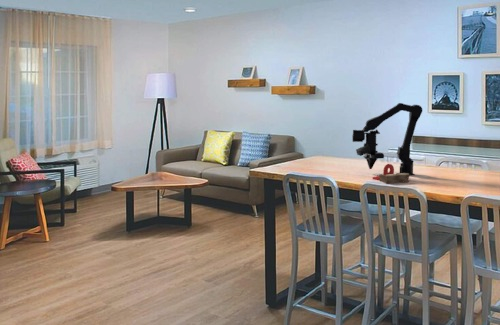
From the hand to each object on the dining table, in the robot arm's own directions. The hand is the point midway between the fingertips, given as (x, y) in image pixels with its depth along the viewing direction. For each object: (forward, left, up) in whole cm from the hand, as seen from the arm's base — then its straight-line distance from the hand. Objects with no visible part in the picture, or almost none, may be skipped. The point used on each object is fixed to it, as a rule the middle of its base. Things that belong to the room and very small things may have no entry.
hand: (370, 168), depth 277 cm
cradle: (0, +23, -3) cm, 23 cm away
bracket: (0, +13, -3) cm, 13 cm away
